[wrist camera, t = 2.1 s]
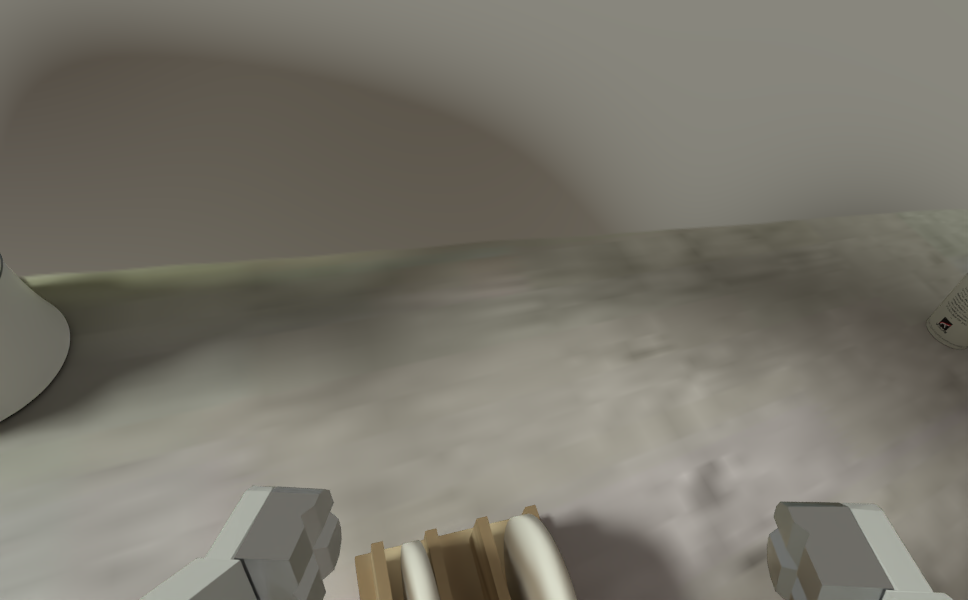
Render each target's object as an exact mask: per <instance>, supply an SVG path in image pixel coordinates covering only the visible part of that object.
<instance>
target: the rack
mask: <svg viewBox="0 0 968 600" xmlns="http://www.w3.org/2000/svg"><path fill="white" fill-rule="evenodd" d="M355 566H356V573H357V580H358V587H359V594H360V600H577V597H576V594H575V591H574V588H573V585H572V582H571V579H570V576H569V573H568V570H567V568H566V565H565V563H564V560H563V558H562V556H561V554H560V551H559V549H558V547H557V545H556V543H555V541H554V540H553V538H552V536H551V534H550V533H549V531H548V530H547V528H546V527H545V526H544V524H543V523H542V522H541V520H540V517H539V514H538V512H537V509H536V506H535V505H532V506H528V507H525V509H524V511H523V513H522V515H520V516H516V517H512V518H511V519H508V520H504V521H500V522H495V523H491V524H489V521H488V518H487V516H486V517H482V518H478V519H477V520H476V522H475V525H474V528H471V529H467V530H463V531H458V532H454V533H450V534H446V535H442V536H438V534H437V529H432V530H428V531H425V536H424V540H421V541H419V540H417V541H413V542H409V543H404V544H402V545H401V546H397V547H393V548H389V549H384V546H383V541H382V542H377V543H373V544H371V553H368V554H364V555H360V556H356V557H355Z"/></svg>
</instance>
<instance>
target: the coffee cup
mask: <svg viewBox="0 0 968 600" xmlns="http://www.w3.org/2000/svg"><path fill="white" fill-rule="evenodd" d="M926 324H927V328H928V330H929V332H930V333H931V334H932V335H933V337H935V338H936V339H937V340H938V341H939V342H941V343H943V344H944V345H946V346H949V347H951V348H954V349H965V348H967V347H968V273H967V274H966V276H965V277H964V278H963V279H962V280H961V281H960V283H959V284H958V285H957V286H956V287H955V288H954V290H953V291H952V292H951V293H950V294H949V295H948V297H947V298H946V299H945V300H944V301H943V302H942V304H941V305H940V306H939V307H938V308H937V309H936V311H935V312H934V313H933V314H932V315H931V316H930V318H929V319H928V320H927V322H926Z"/></svg>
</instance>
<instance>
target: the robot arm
mask: <svg viewBox="0 0 968 600" xmlns="http://www.w3.org/2000/svg"><path fill="white" fill-rule="evenodd" d="M69 346H70V330H69V326H68V323H67V321H66V319H65V317H64V316H63V314H62V313H61V312H60V311H59V310H58V309H57V308H56V307H55V306H53V305H52V304H50V303H49V302H47V301H46V300H44V299H43V298H42V297H40V296H39V295H38V294H36V293H35V292H34V291H33V290H32V289H31V288H29V287H28V286H27V285H26V284H25V283H24V282H23V281H22V280H21V279H20V278H19V277H18V276H17V275H16V274H15V273H14V272H13V271H12V270H11V269H10V268H9V267H8V266H7V265H6V263H5V262H4V261H3V259H2V256H1V254H0V421H2V420H4V419H6V418H7V417H9V416H11V415H12V414H14V413H15V412H17V411H18V410H20V409H21V408H23V407H24V406H25V405H27V404H28V403H29V402H31V401H32V400H33V399H34V398H35V397H37V396H38V395H39V394H40V393H41V392H42V391H43V390H44V389H45V388H46V387H47V386H48V385H49V383H50V382H51V381H52V380H53V379H54V377H55V376H56V375H57V373H58V372H59V370H60V369H61V367H62V365H63V363H64V361H65V359H66V356H67V354H68V350H69ZM333 503H334V502H333V499H332V496H331V493H330V490H326V489H312V488H295V487H271V486H252V487H250V488H249V489H248V490H247V491H246V492H245V493H244V494H243V496H242V498H241V499H240V501H239V503H238V504H237V506H236V507H235V509H234V511H233V512H232V514H231V516H230V517H229V519H228V521H227V522H226V524H225V526H224V527H223V529H222V530H221V532H220V534H219V535H218V537H217V539H216V540H215V542H214V544H213V545H212V547H211V549H210V550H209V552H208V553H207V555H206V557H205V558H196V559H195V560H194V561H192V562H191V563H190V564H188V565H187V566H185V567H184V568H183V569H181V570H180V571H178V572H177V573H176V574H174V575H173V576H171V577H170V578H169V579H167V580H166V581H164V582H163V583H162V584H160V585H159V586H157V587H156V588H155V589H153V590H152V591H150V592H149V593H148V594H146V595H145V596H144V597H142V598H141V599H139V600H323V598H324V596H325V593H326V590H325V587H324V584H323V581H322V580H323V579H324V578H325V577H326V576H328V575H329V574H330V573H331V572H332V571H333V570H334V569H335V566H336V563H337V560H338V557H339V553H340V547H341V540H342V537H341V526H340V522H339V519H338V518H337V517H336V516H335V515H333V514H332V513H331V512H330V511H331V508H332V506H333ZM774 519H775V522H776V524H777V527H778V528H777V529H776V530H774V531H773V532H772V533H770V534H769V539H768V544H767V563H768V568H769V572H770V577H771V580H772V583H773V586H774V588H775V591H776V592H777V593H778V594H779V595H780V596H781V597H782V598H784V599H785V600H954V599H952V598H951V597H949V596H948V595H947V594H945V593H938V592H934V591H933V590H932V588H931V586H930V585H929V583H928V582H927V580H926V578H925V577H924V575H923V574H922V572H921V571H920V569H919V567H918V566H917V564H916V563H915V561H914V559H913V558H912V556H911V555H910V553H909V551H908V550H907V548H906V547H905V545H904V544H903V542H902V540H901V539H900V537H899V536H898V534H897V532H896V531H895V529H894V528H893V526H892V524H891V523H890V521H889V520H888V518H887V517H886V515H885V513H884V512H883V510H882V509H881V508H880V507H879V506H877V505H876V504H859V503H842V504H841V503H830V502H780V503H779V504H778V505H777V506H776V509H775V513H774Z"/></svg>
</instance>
